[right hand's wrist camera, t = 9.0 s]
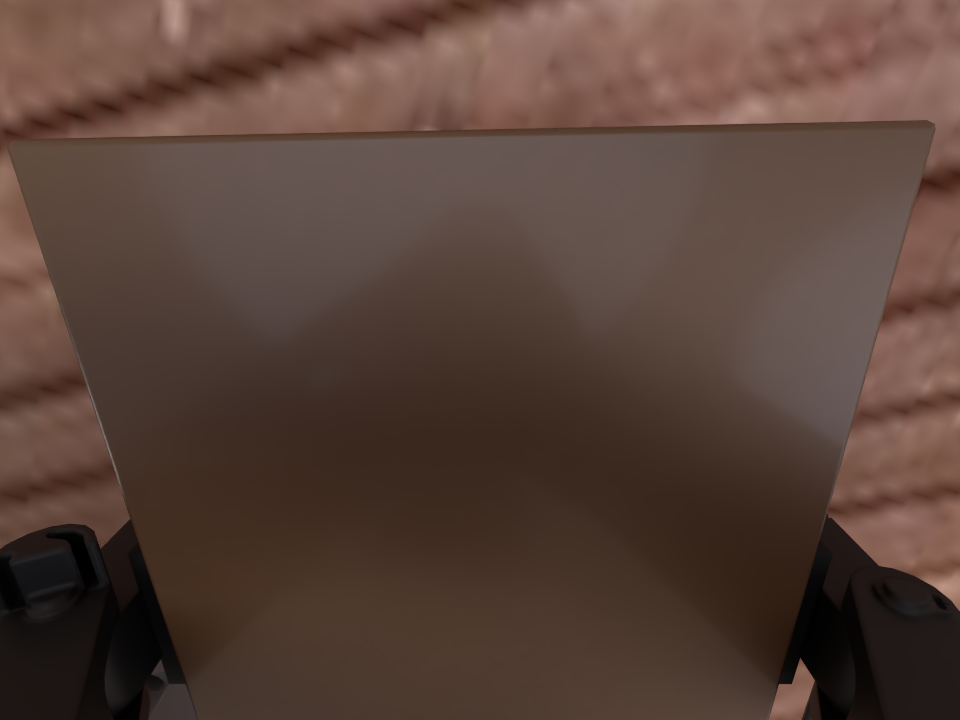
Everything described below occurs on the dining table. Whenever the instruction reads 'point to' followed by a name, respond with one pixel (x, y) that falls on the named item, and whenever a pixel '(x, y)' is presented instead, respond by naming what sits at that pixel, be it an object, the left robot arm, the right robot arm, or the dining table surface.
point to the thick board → (478, 401)
